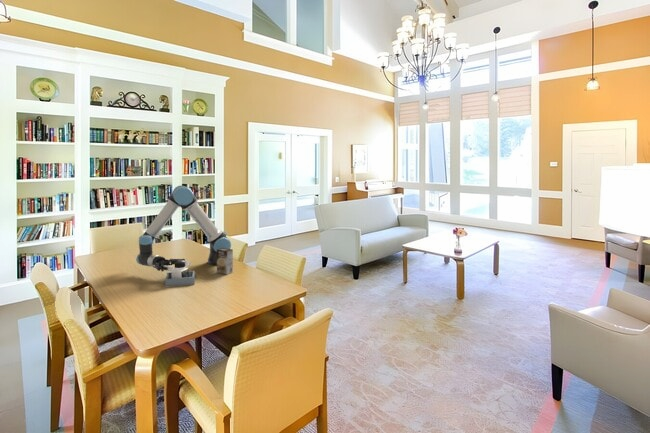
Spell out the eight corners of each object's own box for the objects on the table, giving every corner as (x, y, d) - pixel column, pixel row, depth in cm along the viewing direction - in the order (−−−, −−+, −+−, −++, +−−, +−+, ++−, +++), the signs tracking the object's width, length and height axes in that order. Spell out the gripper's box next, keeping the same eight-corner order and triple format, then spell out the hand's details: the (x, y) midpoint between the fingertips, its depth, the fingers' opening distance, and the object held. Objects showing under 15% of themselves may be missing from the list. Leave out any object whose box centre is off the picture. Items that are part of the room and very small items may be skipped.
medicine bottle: (182, 282, 216) (181, 263, 214) (171, 281, 217) (170, 262, 216) (189, 279, 223) (188, 260, 221) (179, 278, 224) (178, 259, 223)
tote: (194, 277, 229) (194, 270, 229) (194, 284, 216) (194, 277, 215) (167, 279, 224) (167, 272, 223) (165, 286, 211) (165, 279, 210)
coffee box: (216, 272, 240) (215, 249, 238) (222, 270, 246) (222, 247, 243) (227, 274, 236) (226, 251, 234) (233, 272, 242) (233, 249, 240)
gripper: (173, 262, 239) (196, 267, 230) (139, 272, 217) (164, 277, 207) (172, 251, 238) (196, 256, 229) (139, 260, 215) (163, 265, 206)
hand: (181, 266), depth 218 cm, fingers open, 13 cm apart
